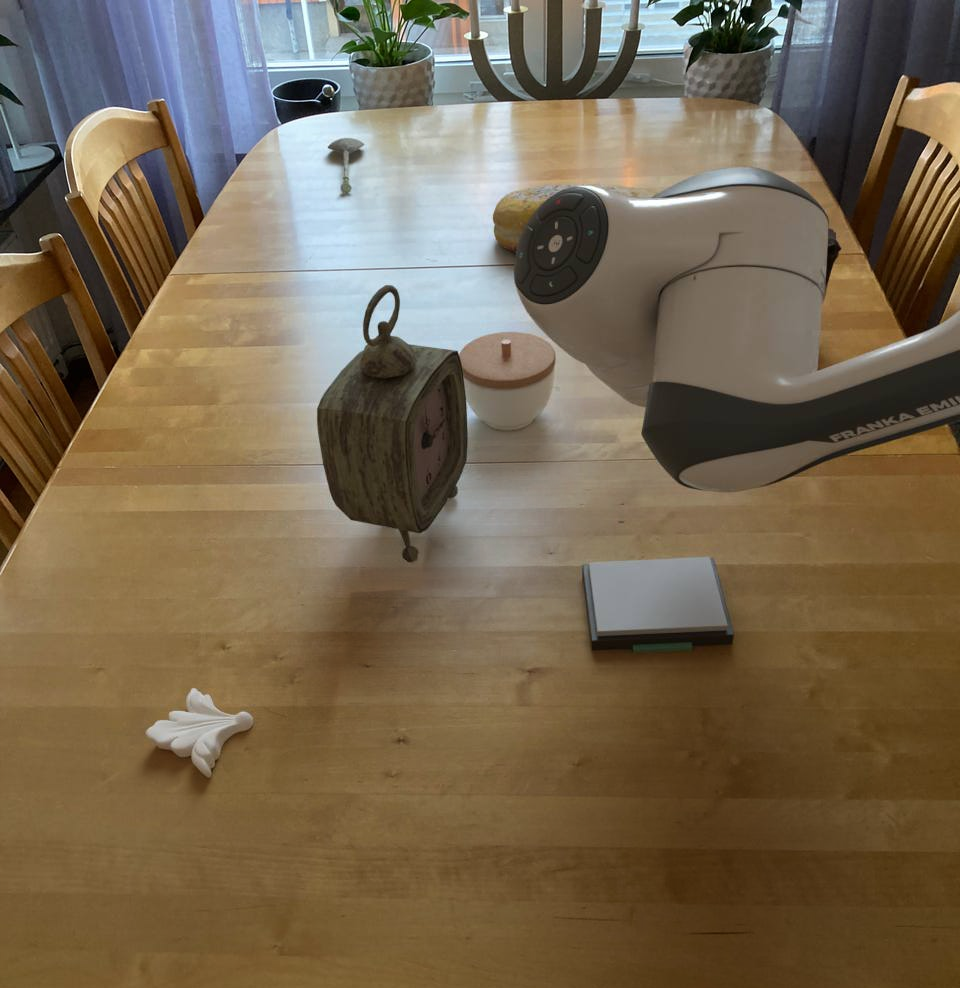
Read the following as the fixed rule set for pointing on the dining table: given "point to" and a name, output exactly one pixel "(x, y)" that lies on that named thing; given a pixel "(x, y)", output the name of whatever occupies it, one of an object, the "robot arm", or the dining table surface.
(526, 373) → the trinket box
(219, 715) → the acanthus leaf ornament
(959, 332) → the robot arm
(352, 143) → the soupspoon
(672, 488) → the dining table surface
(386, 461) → the tabletop clock
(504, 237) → the bread
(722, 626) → the scale
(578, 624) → the dining table surface
